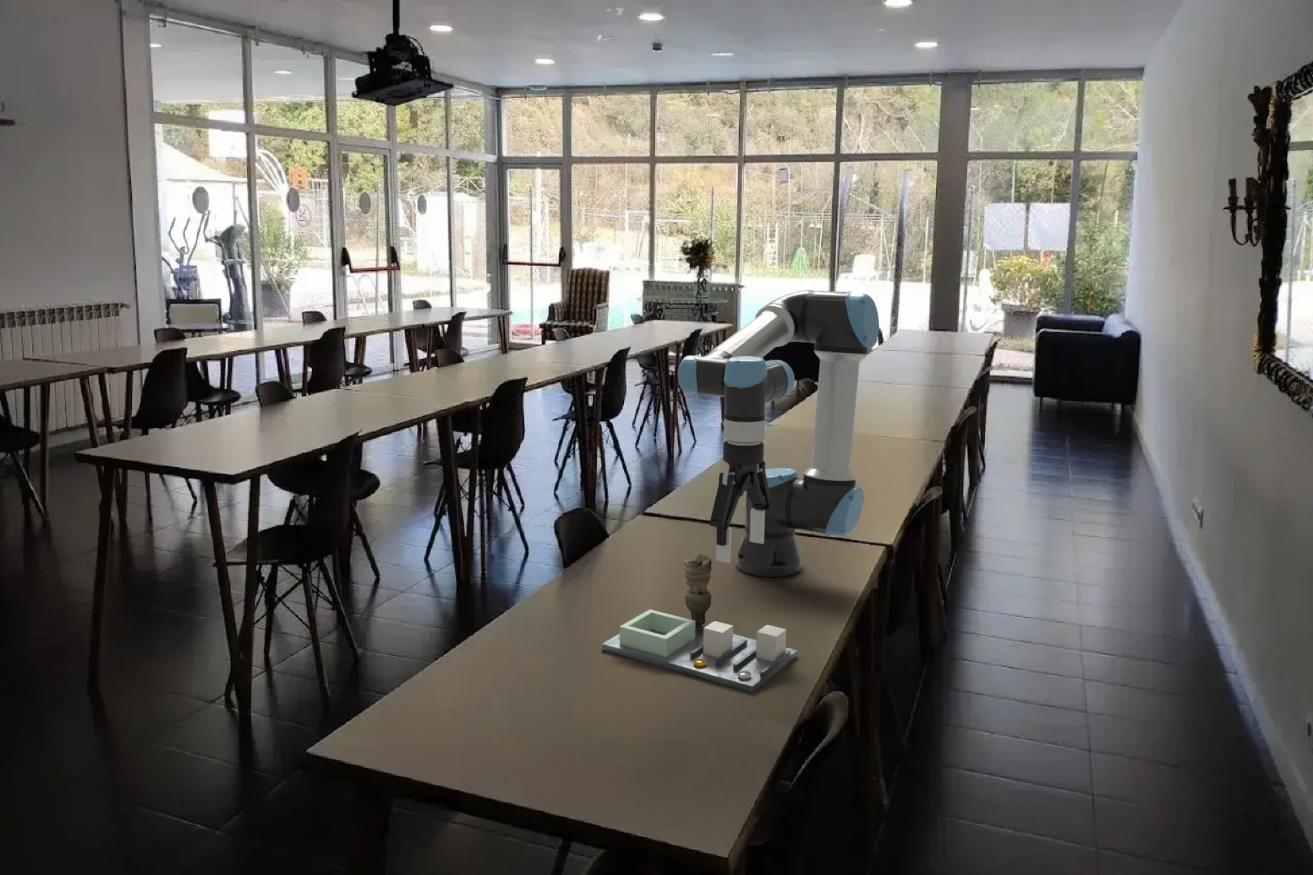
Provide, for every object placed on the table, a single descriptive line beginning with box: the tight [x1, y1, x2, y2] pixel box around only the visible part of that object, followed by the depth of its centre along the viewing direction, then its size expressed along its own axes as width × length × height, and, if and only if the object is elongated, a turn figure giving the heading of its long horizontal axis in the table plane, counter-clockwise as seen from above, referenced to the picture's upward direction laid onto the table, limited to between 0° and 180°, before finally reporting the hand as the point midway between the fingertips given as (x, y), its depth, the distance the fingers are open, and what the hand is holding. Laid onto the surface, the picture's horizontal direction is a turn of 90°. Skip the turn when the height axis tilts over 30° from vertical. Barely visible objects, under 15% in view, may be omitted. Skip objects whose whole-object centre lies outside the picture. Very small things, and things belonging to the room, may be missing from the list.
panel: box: [601, 624, 798, 694], centre depth 192 cm, size 18×32×2 cm, turn 57°
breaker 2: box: [756, 624, 787, 661], centre depth 188 cm, size 4×4×5 cm
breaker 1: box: [703, 620, 734, 657], centre depth 189 cm, size 4×4×5 cm
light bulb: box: [683, 553, 713, 626], centre depth 203 cm, size 6×6×15 cm
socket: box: [619, 609, 695, 657], centre depth 194 cm, size 10×10×4 cm
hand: (740, 551), depth 193 cm, fingers open, 13 cm apart
